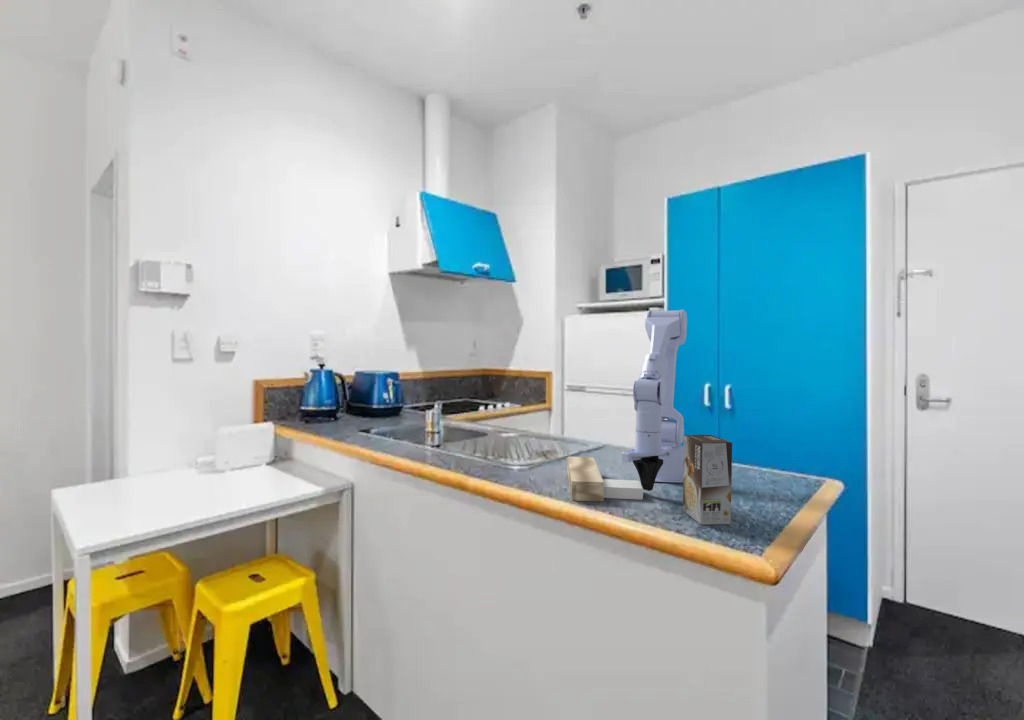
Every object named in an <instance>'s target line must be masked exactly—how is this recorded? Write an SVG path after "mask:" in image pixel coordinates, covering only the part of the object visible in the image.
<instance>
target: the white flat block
mask: <svg viewBox="0 0 1024 720" xmlns="http://www.w3.org/2000/svg"><path fill="white" fill-rule="evenodd" d="M602 479H603V481H604V499H620V500H621V499H622V500H624V499H625V500H639V501H640V500H644V498H643V497H644V489H643V488H642V485H641V481H640V480H634V479H633V480H632V479H631V480H630V479H610V478H609V479H608V478H605V479H604V478H602Z"/></svg>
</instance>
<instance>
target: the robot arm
mask: <svg viewBox="0 0 1024 720" xmlns="http://www.w3.org/2000/svg"><path fill="white" fill-rule="evenodd" d="M644 322H645V323H644V325H645V331H646V334H647V337H648V340H649V342H650V345H649V353H648V354H646V355H644V357H643V359H642V365H641V367H640V368H641V369H640V373H639V377H638V380H635V381H634V383H633V388H632V395H633V396H632V397H633V405H634V406H633V407H634V411H635V445H634V446H633V447H632V449H630V450H626V451H623V452H622V453H621V455H622V456H621V457H622V458H621V461H622V462H626V463H633V465H634V466H635V469H636V471H637V473H638V474H637V475H638V477H639V482H640V484H641V486H642V488H643V491H644V490H645V491H647V492H650V491H653V489H654V487H655V483H676V484H677V483H678V484H679V483H681V484H683V468H684V445H682V444H683V443H684V435H685V428H684V427H685V425H684V420H685V419H684V417H683V415H682V413H680V412H679V411H678V410H677V409H675V407H674V399H675V398H674V397H675V383H676V382H675V381H676V367H677V364H676V363H677V355H678V354H677V353H678V350H679V346H681V345H683V344H685V343H686V339H687V327H688V316H687V312H686V311H685V310H684V309H679V310H648V311H647V312H646V314H645V319H644Z"/></svg>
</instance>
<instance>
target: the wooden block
mask: <svg viewBox="0 0 1024 720" xmlns="http://www.w3.org/2000/svg"><path fill="white" fill-rule="evenodd" d="M566 460H567V463H566V464H567V465H566V466H567V469H566V473H567V481H568V485H569V493H570V497H571V501H576V502H580V501H581V502H602V503H603V502H605V501H604V500H605V498H604V481H603V479H604V478H603V477H602V475H601V472H600V469H599V468H598V466H597V463H596V461H595V457H591V456H589V457H588V456H586V457H585V456H567V459H566Z"/></svg>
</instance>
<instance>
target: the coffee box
mask: <svg viewBox="0 0 1024 720" xmlns="http://www.w3.org/2000/svg"><path fill="white" fill-rule="evenodd" d="M683 446H684V468H683V483H682V512H684V513H685V514H687V515H688V516H689V517H690V518H692V519H693V520H695V521H696V522H697V523H699V525H703V526H704V525H710V526H711V525H731V523H732V518H731V517H732V480H733V479H732V477H733V475H732V473H733V472H732V471H733V470H732V469H733V442H732V441H729V440H727V439H724V438H722V437H721V438H720V437H718V436H714V435H713V434H684V437H683Z"/></svg>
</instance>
